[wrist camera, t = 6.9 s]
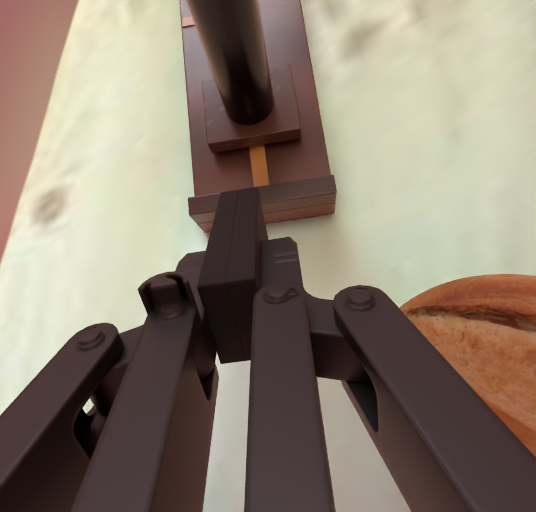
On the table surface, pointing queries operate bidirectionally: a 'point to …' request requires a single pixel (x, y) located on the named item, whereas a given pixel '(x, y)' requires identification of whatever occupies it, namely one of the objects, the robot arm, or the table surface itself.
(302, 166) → the rail
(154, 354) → the robot arm
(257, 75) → the tap
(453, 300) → the bread roll
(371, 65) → the table surface
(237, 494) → the table surface
